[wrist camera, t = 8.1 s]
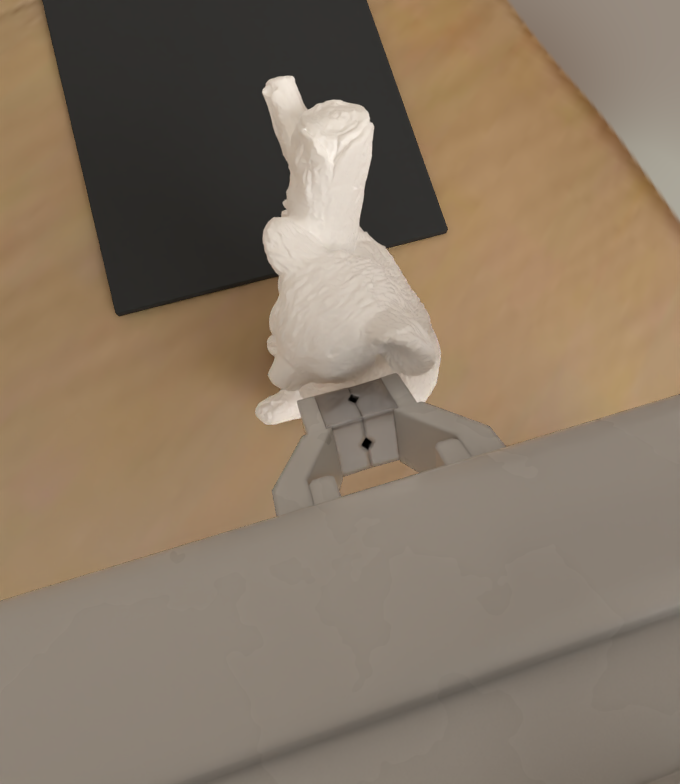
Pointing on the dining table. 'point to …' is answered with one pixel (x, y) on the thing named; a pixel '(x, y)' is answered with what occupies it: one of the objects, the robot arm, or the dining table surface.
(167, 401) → the dining table surface
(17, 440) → the dining table surface
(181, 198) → the mat
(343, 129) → the white animal figurine
